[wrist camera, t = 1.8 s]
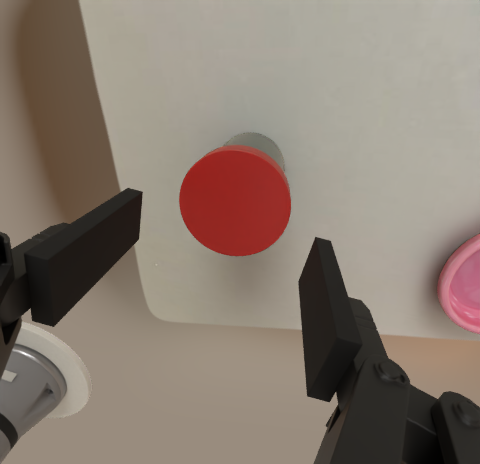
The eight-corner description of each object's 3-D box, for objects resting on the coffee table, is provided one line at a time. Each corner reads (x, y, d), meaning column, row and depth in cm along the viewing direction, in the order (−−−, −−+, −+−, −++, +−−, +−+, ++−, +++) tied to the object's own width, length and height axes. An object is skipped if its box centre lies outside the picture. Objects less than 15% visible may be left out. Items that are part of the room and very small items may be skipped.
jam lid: (239, 261, 23) (236, 275, 21) (167, 198, 22) (157, 207, 20) (312, 198, 20) (315, 207, 19) (234, 120, 19) (229, 122, 17)
